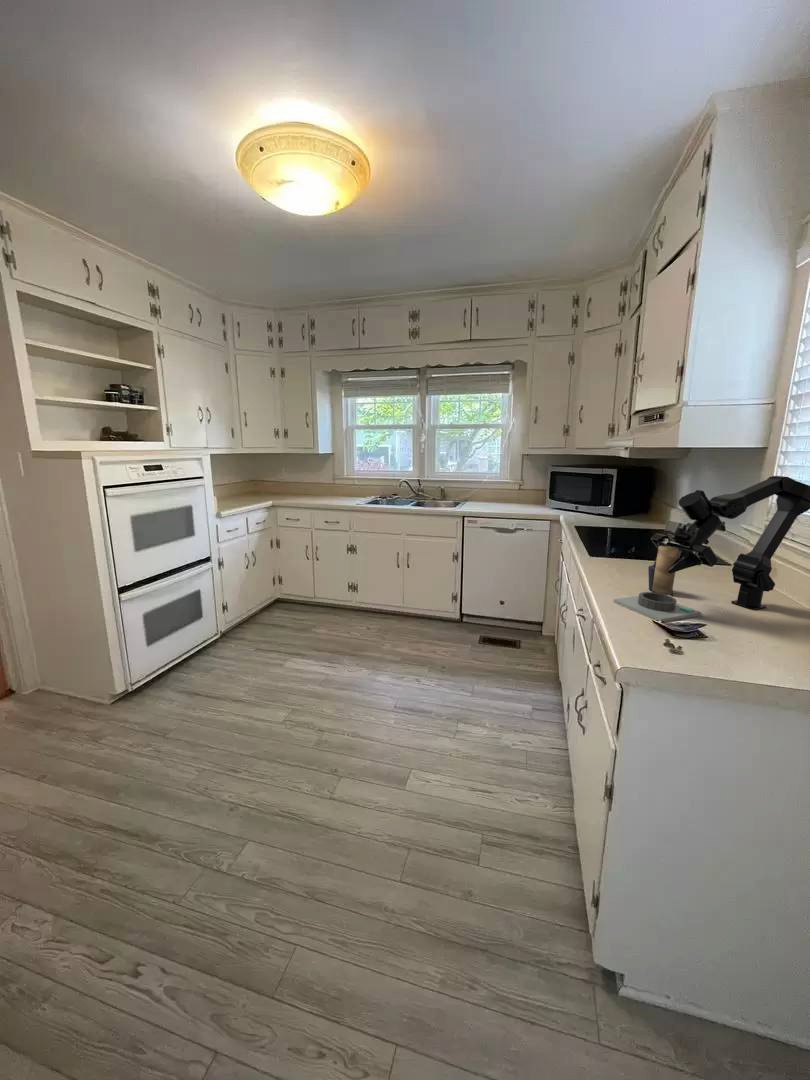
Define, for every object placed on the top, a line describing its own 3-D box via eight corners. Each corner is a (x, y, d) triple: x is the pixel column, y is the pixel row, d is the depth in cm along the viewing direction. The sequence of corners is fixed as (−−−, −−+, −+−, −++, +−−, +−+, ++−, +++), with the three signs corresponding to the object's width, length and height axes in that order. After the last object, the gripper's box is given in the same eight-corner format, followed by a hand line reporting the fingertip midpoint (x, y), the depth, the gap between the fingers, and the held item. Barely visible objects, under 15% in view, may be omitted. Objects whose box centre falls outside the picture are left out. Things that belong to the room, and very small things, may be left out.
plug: (668, 589, 126) (675, 546, 123) (674, 594, 121) (682, 550, 118) (649, 587, 127) (656, 545, 124) (655, 593, 122) (662, 549, 119)
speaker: (675, 591, 142) (676, 561, 140) (672, 596, 138) (674, 565, 136) (649, 588, 147) (650, 559, 145) (646, 593, 143) (647, 563, 141)
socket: (651, 596, 137) (652, 586, 136) (700, 615, 122) (702, 603, 122) (613, 602, 131) (614, 591, 130) (660, 622, 117) (662, 610, 116)
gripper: (660, 506, 129) (623, 543, 129) (716, 517, 111) (674, 559, 111) (678, 532, 132) (642, 567, 132) (735, 545, 115) (694, 587, 115)
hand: (661, 569), depth 122 cm, fingers closed on plug, 5 cm apart
